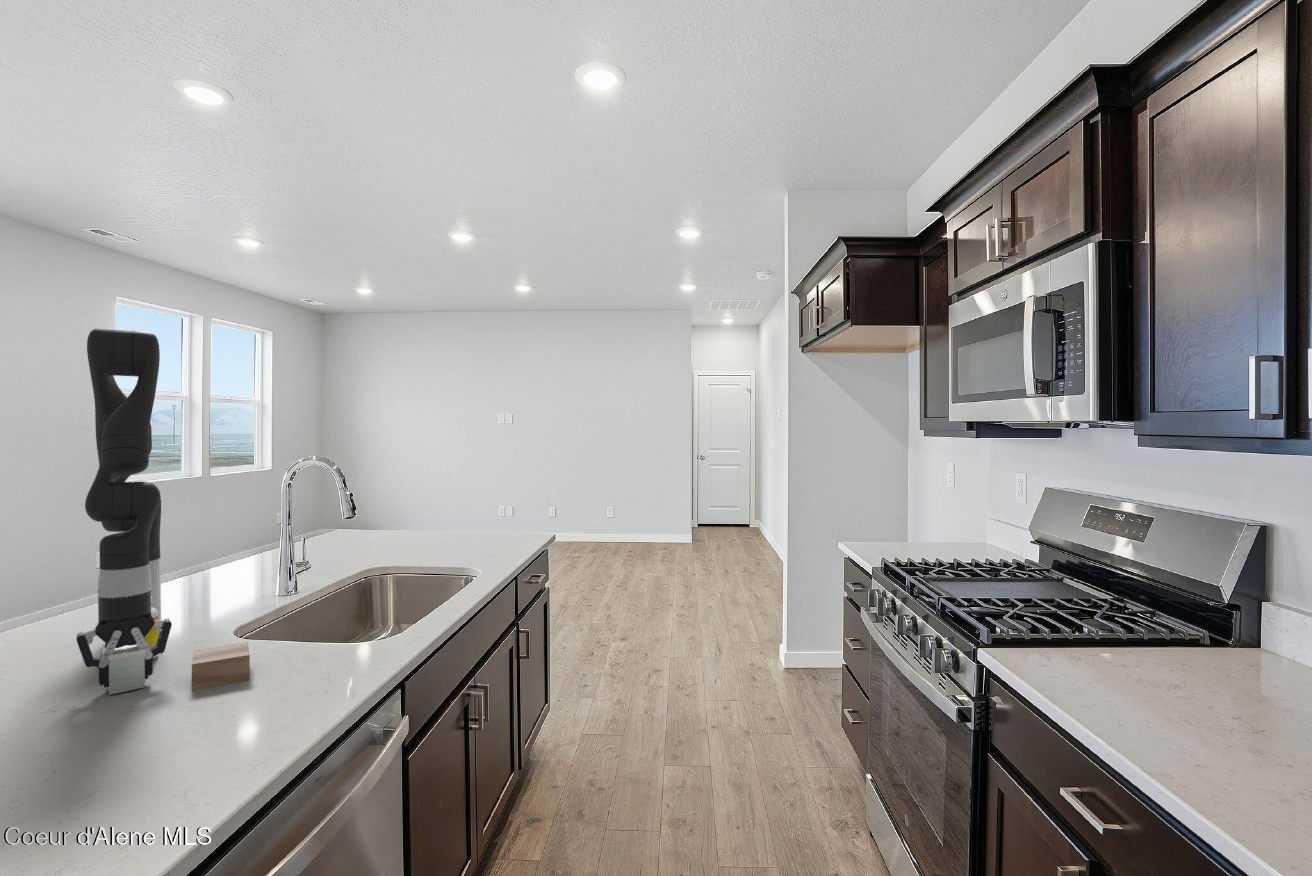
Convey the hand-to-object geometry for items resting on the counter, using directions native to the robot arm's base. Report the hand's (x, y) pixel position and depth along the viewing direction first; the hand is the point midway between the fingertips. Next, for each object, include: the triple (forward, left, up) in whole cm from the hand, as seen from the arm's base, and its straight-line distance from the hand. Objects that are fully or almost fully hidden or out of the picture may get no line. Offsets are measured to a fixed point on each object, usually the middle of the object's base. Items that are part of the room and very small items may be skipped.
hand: (126, 681), depth 119 cm
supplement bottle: (-17, +3, -1) cm, 17 cm away
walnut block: (+5, +14, -1) cm, 15 cm away
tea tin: (0, 0, -1) cm, 1 cm away
